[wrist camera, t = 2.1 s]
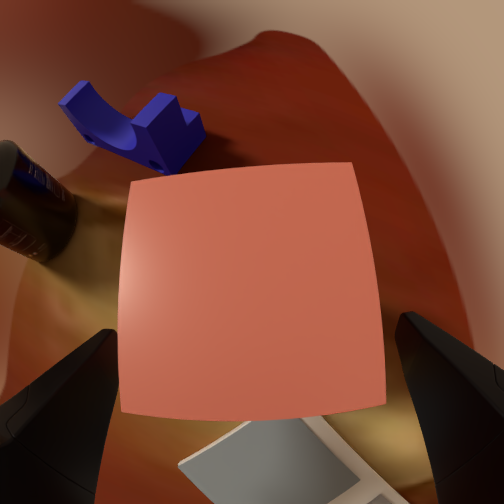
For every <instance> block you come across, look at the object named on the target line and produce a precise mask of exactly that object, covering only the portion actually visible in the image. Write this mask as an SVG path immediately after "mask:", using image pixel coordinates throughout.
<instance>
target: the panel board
mask: <svg viewBox="0 0 504 504" xmlns="http://www.w3.org/2000/svg"><path fill="white" fill-rule="evenodd" d="M178 465H179V466H178V468H179V469H180V470H181V471H182V472H183V473H184V474H185V475H186V476H187V477H188V478H189V479H190V480H191V481H192V482H193V483H194V484H195V485H196V486H197V487H198V488H199V489H200V490H201V491H202V492H203V493H204V494H205V495H206V496H207V497H208V498H209V499H210V500H211V501H212V502H213V503H214V504H410V503H408V502H407V501H406V500H405V499H404V498H403V497H402V496H401V495H400V494H399V493H397V492H396V491H395V490H394V489H393V488H392V487H391V486H390V485H389V484H388V483H387V482H386V481H385V480H384V479H383V478H382V477H381V476H379V475H378V474H377V473H376V472H375V471H374V470H373V469H372V468H371V467H370V466H369V465H368V464H367V463H366V462H365V461H364V460H363V459H362V458H361V457H360V456H359V455H358V454H357V453H356V452H355V451H354V450H353V449H352V448H351V447H350V446H349V445H348V444H347V443H346V442H345V441H344V439H343V438H342V437H341V436H340V435H339V434H338V433H337V432H336V431H335V430H334V429H333V428H332V427H331V426H330V425H329V424H328V423H327V422H326V420H325V419H324V418H323V417H322V416H313V417H304V418H294V419H281V420H264V421H245V422H244V423H242V424H241V425H239V426H238V427H236V428H235V429H233V430H232V431H230V432H229V433H227V434H225V435H224V436H222V437H221V438H219V439H218V440H216V441H214V442H213V443H211V444H209V445H208V446H206V447H204V448H203V449H201V450H199V451H198V452H196V453H194V454H192V455H191V456H189V457H187V458H185V459H184V460H182V461H180V462H179V463H178Z"/></svg>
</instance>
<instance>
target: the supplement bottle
mask: <svg viewBox="0 0 504 504" xmlns="http://www.w3.org/2000/svg"><path fill="white" fill-rule="evenodd" d="M76 219H77V206H76V201H75V199H74V197H73V195H72V194H71V193H70V192H69V191H68V190H67V189H66V188H65V187H64V186H63V185H62V184H61V183H59V182H58V181H57V180H56V179H55V178H54V177H53V176H51V175H50V174H49V173H48V172H47V171H46V170H45V169H44V168H42V167H41V166H40V165H39V164H38V163H37V162H36V161H35V160H34V159H32V158H31V157H30V156H29V155H28V154H27V153H26V152H25V151H24V150H23V149H22V148H21V147H20V146H18V145H17V144H16V143H15V142H13V141H10V140H2V141H0V245H2V246H4V247H6V248H8V249H10V250H12V251H15V252H17V253H19V254H21V255H23V256H25V257H27V258H30V259H32V260H35V261H39V262H44V261H48V260H50V259H52V258H54V257H55V256H57V255H58V254H59V253H60V252H61V251H62V250H63V249H64V247H65V246H66V244H67V243H68V241H69V239H70V238H71V235H72V233H73V231H74V228H75V224H76Z"/></svg>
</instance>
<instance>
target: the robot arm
mask: <svg viewBox="0 0 504 504" xmlns="http://www.w3.org/2000/svg"><path fill="white" fill-rule="evenodd" d="M395 341H396V345H397V348H398V352H399V356H400V360H401V364H402V369H403V373H404V377H405V380H406V383H407V386H408V389H409V392H410V395H411V398H412V401H413V404H414V407H415V411H416V414H417V417H418V420H419V424H420V427H421V430H422V434H423V437H424V441H425V445H426V448H427V452H428V456H429V460H430V464H431V469H432V473H433V477H434V482H435V487H436V492H437V498H438V503H439V504H504V370H502V369H501V368H500V367H498V366H497V365H495V364H493V363H492V362H491V361H489V360H488V359H486V358H485V357H483V356H481V355H480V354H479V353H477V352H476V351H474V350H473V349H471V348H470V347H468V346H467V345H465V344H464V343H462V342H461V341H459V340H457V339H456V338H454V337H453V336H451V335H450V334H448V333H447V332H445V331H444V330H442V329H440V328H439V327H437V326H436V325H434V324H433V323H431V322H429V321H428V320H426V319H425V318H423V317H422V316H420V315H418V314H417V313H415V312H413V311H410V312H404V313H402V314H401V315H400V317H399V321H398V324H397V328H396V331H395ZM118 387H119V369H118V334H117V332H116V331H115V330H114V329H102V330H101V331H100V332H98V333H97V334H95V335H94V336H93V337H91V338H90V339H89V340H87V341H86V342H85V343H83V344H82V345H81V346H79V347H78V348H77V349H75V350H74V351H73V352H71V353H70V354H68V355H67V356H66V357H64V358H63V359H62V360H61V361H59V362H58V363H57V364H55V365H54V366H53V367H51V368H50V369H49V370H47V371H46V372H45V373H43V374H42V375H41V376H39V377H38V378H37V379H36V380H34V381H33V382H32V383H30V385H28V386H26V387H25V388H24V389H23V390H21V391H20V392H19V393H17V394H16V395H15V396H13V397H12V398H11V399H9V400H8V401H6V402H5V403H3V404H2V405H0V504H94V501H95V493H96V487H97V481H98V475H99V470H100V465H101V459H102V455H103V450H104V445H105V441H106V436H107V432H108V428H109V423H110V419H111V415H112V411H113V407H114V404H115V400H116V396H117V392H118Z"/></svg>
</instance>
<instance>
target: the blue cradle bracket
mask: <svg viewBox="0 0 504 504" xmlns="http://www.w3.org/2000/svg"><path fill="white" fill-rule="evenodd" d="M58 105H59V106H60V107H61V109H62V110H63V112H64V113H65V114H66V115H67V117H68V118H69V119H70V121H71V122H72V123H73V125H74V126H75V127H76V129H77V130H78V131H79V132H80V134H81V135H82V136H83V138H84V139H85V140H86V141H87V143H90V144H93V145H95V146H97V147H98V146H99V147H101V148H104V149H106V150H109V151H111V152H113V153H116V154H118V155H121V156H123V157H125V158H128V159H130V160H132V161H135V162H137V163H139V164H142V165H144V166H146V167H149V168H151V169H153V170H155V171H158V172H160V173H162V174H164V175H167V176H170V175H176V174H177V173H178V172H179V170H180V169H181V168H182V166H183V165H184V164H185V162H186V161H187V160H188V159H189V157H190V156H191V155H192V154H193V152H194V151H195V150H196V149H197V147H198V146H199V145H200V144H201V142H202V141H203V140H204V139H205V138H206V134H205V131H204V127H203V124H202V121H201V117H200V114H199V113H198V112H194V111H191V110H187V109H184V108H180V105H179V102H178V100H177V97H176V96H173V95H169V94H164V93H159V94H158V95H157V96H156V97H154V98H153V99H152V100H151V101H150V102H149V103H148V104H147V105H146V106H145V107H144V108H143V110H142V111H141V112H140V113H139V114H138V115H137V116H136V117H135V118H134V119H133V120H132V119H130V118H128V117H126V116H124V115H122V114H121V113H119V112H118V111H116V110H115V109H114V108H112V107H111V106H110V105H109V104H108V103H107V102H106V101H104V100H103V99H102V97H100V95H99V94H98V93H97V92H96V91H95V90H94V88H93V87H92V85H91V84H90V82H89V81H80V82H79V83H78V84H77V85H76V86H75V87H74V88H73V89H72V90H71V91H70V92H69V93H68V94H67V95H66V96H65V97H64V98H63V99H62V100H61V101H60V102H59V103H58Z"/></svg>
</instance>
